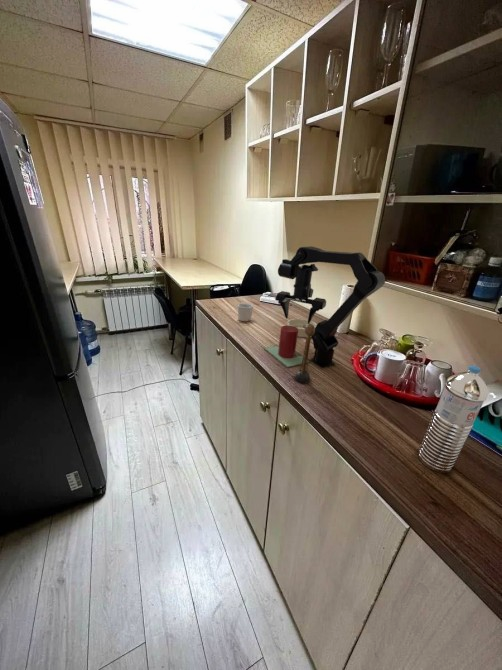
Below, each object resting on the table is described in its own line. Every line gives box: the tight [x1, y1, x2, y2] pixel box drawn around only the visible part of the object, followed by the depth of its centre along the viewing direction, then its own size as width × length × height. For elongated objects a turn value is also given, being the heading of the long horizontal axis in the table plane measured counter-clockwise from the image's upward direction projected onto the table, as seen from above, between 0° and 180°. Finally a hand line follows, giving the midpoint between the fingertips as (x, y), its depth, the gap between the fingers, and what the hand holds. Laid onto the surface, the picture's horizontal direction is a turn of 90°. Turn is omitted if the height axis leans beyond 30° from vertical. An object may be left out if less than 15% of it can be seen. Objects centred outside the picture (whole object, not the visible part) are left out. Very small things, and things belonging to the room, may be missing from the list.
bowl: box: [286, 318, 318, 338], centre depth 130 cm, size 14×14×4 cm
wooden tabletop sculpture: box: [294, 324, 315, 384], centre depth 89 cm, size 6×5×20 cm
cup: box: [237, 302, 254, 322], centre depth 141 cm, size 11×8×8 cm
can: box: [278, 325, 298, 358], centre depth 105 cm, size 7×7×11 cm
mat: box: [264, 345, 310, 368], centre depth 107 cm, size 16×10×1 cm, turn 29°
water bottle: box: [417, 364, 489, 474], centre depth 58 cm, size 7×7×25 cm
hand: (297, 320), depth 108 cm, fingers open, 9 cm apart
